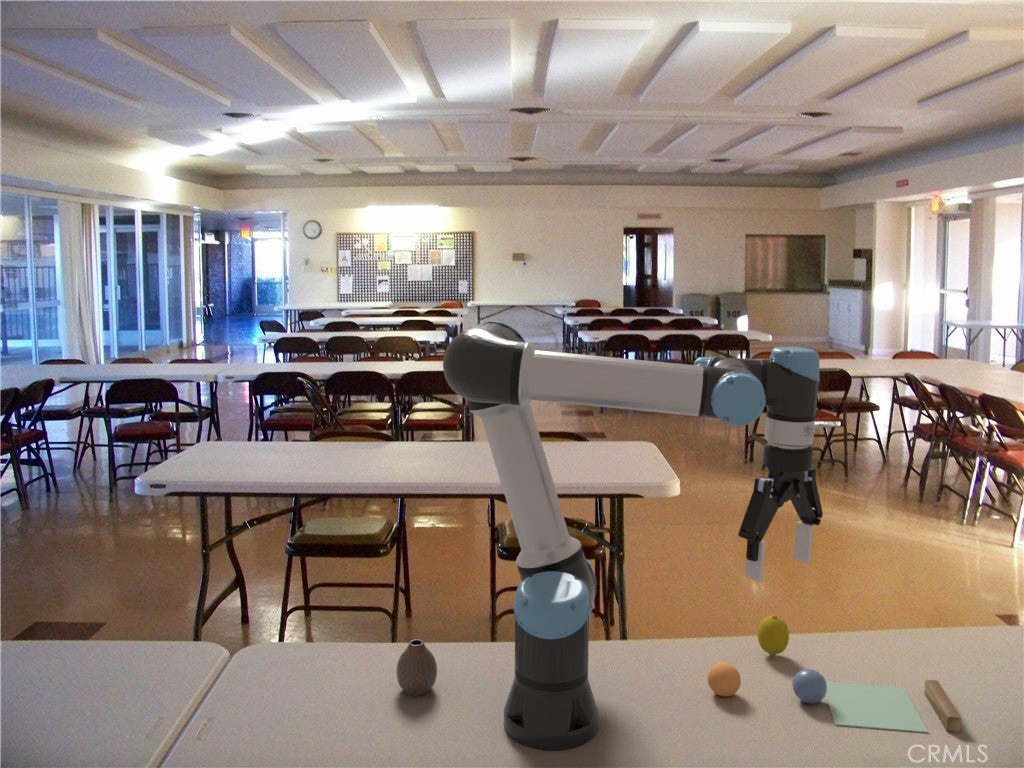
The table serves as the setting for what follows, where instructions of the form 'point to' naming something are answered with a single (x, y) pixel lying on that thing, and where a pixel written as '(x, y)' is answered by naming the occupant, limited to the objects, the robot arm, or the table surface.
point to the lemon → (773, 635)
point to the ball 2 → (809, 686)
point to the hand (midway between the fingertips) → (778, 569)
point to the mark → (873, 707)
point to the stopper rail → (942, 706)
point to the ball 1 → (724, 679)
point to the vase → (416, 669)
